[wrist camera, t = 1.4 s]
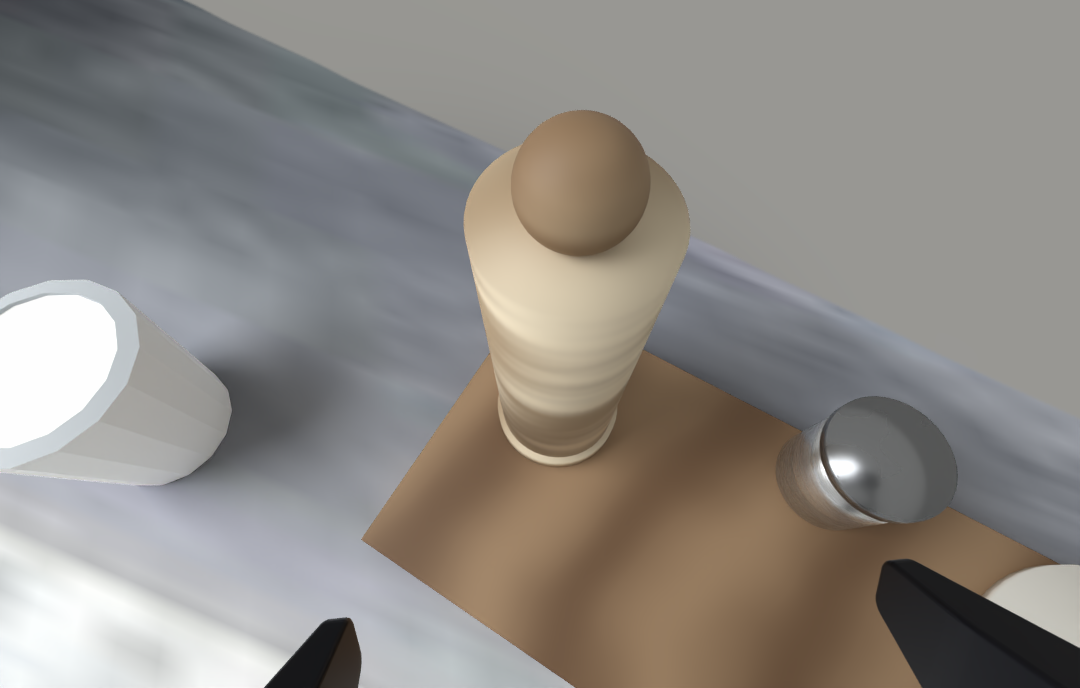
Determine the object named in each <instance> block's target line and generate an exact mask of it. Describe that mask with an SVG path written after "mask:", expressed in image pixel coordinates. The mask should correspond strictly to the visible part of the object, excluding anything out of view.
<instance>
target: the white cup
mask: <svg viewBox="0 0 1080 688" xmlns="http://www.w3.org/2000/svg"><path fill="white" fill-rule="evenodd" d="M231 413H232V408H231V403H230V398H229V392H228V389H227V388H226V387H225V386H224V385H223V383H222V382H221V381H220V380H219V378H218V377H217V376H216V375H215V374H214V373H213V372H212V371H210V370H209V369H208V368H207V367H206V366H205V365H203V364H202V363H201V362H200V361H199V360H197V359H196V358H195V357H194V356H193V355H192V354H190V353H189V352H188V351H187V350H186V349H185V348H183V347H182V346H181V345H180V344H179V343H177V342H176V341H175V340H174V339H173V338H172V337H170V336H169V335H168V334H167V333H166V332H164V331H163V330H162V329H161V328H160V327H159V326H157V325H156V324H155V323H154V322H153V321H151V320H150V319H149V318H148V317H147V316H146V315H144V314H143V313H142V312H141V311H140V310H139V309H137V308H136V307H135V306H134V305H133V304H131V303H130V302H129V301H128V300H127V299H126V298H124V297H123V296H122V295H121V294H120V293H118V292H117V291H115V290H112V289H110V288H107V287H105V286H102V285H99V284H97V283H94V282H92V281H89V280H49V281H46V282H43V283H40V284H37V285H34V286H30V287H27V288H24V289H21V290H18V291H15V292H11V293H9V294H7V295H6V296H4V297H2V298H1V299H0V473H8V474H19V475H29V476H40V477H51V478H61V479H72V480H82V481H93V482H103V483H114V484H124V485H135V486H150V485H165V484H167V483H170V482H172V481H175V480H177V479H180V478H183V477H185V476H188V475H190V474H191V473H192V472H193V471H194V470H196V469H197V468H198V467H199V466H201V465H202V464H203V463H204V462H206V461H207V460H208V459H209V458H211V457H212V455H213V454H214V452H215V451H216V449H217V448H218V446H219V444H220V443H221V441H222V440H223V438H224V437H225V435H226V433H227V429H228V425H229V421H230V417H231Z"/></svg>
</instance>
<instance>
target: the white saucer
mask: <svg viewBox="0 0 1080 688" xmlns="http://www.w3.org/2000/svg"><path fill="white" fill-rule="evenodd" d="M982 596H983V597H984V598H986V599H988V600H990V601H992V602H994V603H996V604H998V605H1000V606H1001V607H1003V608H1005V609H1007V610H1009V611H1011V612H1013V613H1015V614H1017V615H1018V616H1020V617H1022V618H1024V619H1026V620H1028V621H1030V622H1032V623H1034V624H1036V625H1037V626H1039V627H1041V628H1043V629H1045V630H1047V631H1049V632H1051V633H1053V634H1054V635H1056V636H1058V637H1060V638H1062V639H1064V640H1066V641H1068V642H1070V643H1071V644H1073V645H1075V646H1077V647H1079V648H1080V565H1040V566H1034V567H1028V568H1024V569H1021V570H1018V571H1016V572H1013V573H1010V574H1009V575H1007V576H1005V577H1003V578H1002V579H1000V580H998V581H997V582H996V583H995V584H993V585H992V586H991V587H990V588H989V589H988V590H986V592H985V593H984V594H983V595H982Z"/></svg>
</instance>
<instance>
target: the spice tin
mask: <svg viewBox="0 0 1080 688" xmlns="http://www.w3.org/2000/svg"><path fill="white" fill-rule="evenodd" d="M957 477H958V475H957V466H956V462H955V458H954V455H953V452H952V450H951V448H950V446H949V444H948V442H947V440H946V439H945V437H944V436H943V434H942V433H941V432H940V430H939V429H938V428H937V427H936V426H935V425H934V424H933V423H932V422H931V421H930V420H929V419H928V418H927V417H926V416H925V415H923V414H922V413H920V412H919V411H918V410H916V409H914V408H913V407H911V406H909V405H907V404H905V403H903V402H900V401H897V400H894V399H890V398H886V397H877V396H874V397H863V398H859V399H856V400H853V401H851V402H849V403H847V404H845V405H843V406H842V407H840V408H839V409H837V410H836V411H834V412H833V413H832V414H831V415H830V416H829V417H828V418H826V419H824V420H823V421H821V422H819V423H817V424H815V425H814V426H812V427H810V428H808V429H806V430H805V431H803V432H801V433H799V434H797V435H795V436H794V437H792V438H791V439H789V440H788V441H787V442H786V443H785V444H784V445H783V447H782V448H781V450H780V452H779V454H778V457H777V461H776V479H777V484H778V487H779V489H780V492H781V494H782V496H783V498H784V499H785V501H786V502H787V504H788V505H789V506H790V508H791V509H792V510H793V511H794V512H795V513H796V514H797V515H799V516H800V517H801V518H802V519H804V520H805V521H807V522H808V523H810V524H812V525H814V526H817V527H820V528H823V529H827V530H846V529H853V528H859V527H866V526H872V525H879V524H885V523H893V524H907V523H914V522H920V521H925V520H928V519H931V518H933V517H935V516H937V515H939V514H940V513H941V512H942V511H944V510H945V509H946V507H947V506H948V505H949V504H950V502H951V500H952V499H953V497H954V494H955V491H956V487H957Z"/></svg>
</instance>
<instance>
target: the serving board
mask: <svg viewBox="0 0 1080 688" xmlns="http://www.w3.org/2000/svg"><path fill="white" fill-rule="evenodd" d="M498 396H499V391H498V386H497V382H496V377H495V373H494V368H493V363H492V359H491V354H490V353H489V355H488V356H487V358H486V359H485V360H484V362H483V363H482V365H481V366H480V368H479V369H478V371H477V372H476V374H475V375H474V376H473V378H472V379H471V381H470V382H469V384H468V385H467V387H466V388H465V389H464V391H463V392H462V394H461V395H460V397H459V398H458V400H457V401H456V403H455V404H454V405H453V407H452V408H451V410H450V411H449V413H448V414H447V416H446V417H445V418H444V420H443V421H442V423H441V424H440V426H439V427H438V429H437V430H436V432H435V433H434V434H433V436H432V437H431V439H430V440H429V442H428V443H427V445H426V446H425V448H424V449H423V450H422V452H421V453H420V455H419V456H418V458H417V459H416V461H415V462H414V463H413V465H412V466H411V468H410V469H409V471H408V472H407V474H406V475H405V477H404V478H403V479H402V481H401V482H400V484H399V485H398V487H397V488H396V490H395V491H394V492H393V494H392V495H391V497H390V498H389V500H388V501H387V503H386V504H385V506H384V507H383V508H382V510H381V511H380V513H379V514H378V516H377V517H376V519H375V520H374V522H373V523H372V524H371V526H370V527H369V529H368V530H367V532H366V533H365V535H364V536H363V537H362V539H361V540H362V541H364V542H365V543H367V544H368V545H370V546H371V547H373V548H374V549H376V550H377V551H378V552H380V553H381V554H383V555H384V556H386V557H387V558H389V559H390V560H391V561H393V562H394V563H396V564H397V565H399V566H400V567H402V568H403V569H404V570H406V571H407V572H409V573H410V574H412V575H413V576H415V577H416V578H418V579H419V580H420V581H422V582H423V583H425V584H426V585H428V586H429V587H431V588H432V589H433V590H435V591H436V592H438V593H439V594H441V595H442V596H444V597H445V598H446V599H448V600H449V601H451V602H452V603H454V604H455V605H457V606H458V607H460V608H461V609H462V610H464V611H465V612H467V613H468V614H470V615H471V616H473V617H474V618H475V619H477V620H478V621H480V622H481V623H483V624H484V625H486V626H487V627H488V628H490V629H491V630H493V631H494V632H496V633H497V634H499V635H500V636H501V637H503V638H504V639H506V640H507V641H509V642H510V643H512V644H513V645H515V646H516V647H517V648H519V649H520V650H522V651H523V652H525V653H526V654H528V655H529V656H530V657H532V658H533V659H535V660H536V661H538V662H539V663H541V664H542V665H543V666H545V667H546V668H548V669H549V670H551V671H552V672H554V673H555V674H557V675H558V676H559V677H561V678H562V679H564V680H565V681H567V682H568V683H570V684H571V685H572V686H574V687H575V688H922V687H921V685H920V684H919V682H918V680H917V678H916V676H915V675H914V673H913V671H912V669H911V668H910V666H909V664H908V662H907V661H906V659H905V657H904V655H903V653H902V652H901V650H900V648H899V646H898V645H897V643H896V641H895V639H894V638H893V636H892V634H891V632H890V630H889V629H888V627H887V625H886V623H885V622H884V620H883V618H882V616H881V615H880V613H879V611H878V608H877V605H876V599H875V596H876V590H877V586H878V581H879V577H880V572H881V567H882V565H883V564H884V563H885V561H888V560H897V559H911V560H914V561H916V562H918V563H920V564H922V565H924V566H926V567H928V568H930V569H931V570H933V571H935V572H937V573H939V574H941V575H943V576H945V577H947V578H949V579H950V580H952V581H954V582H956V583H958V584H960V585H962V586H964V587H966V588H967V589H969V590H971V591H973V592H975V593H977V594H979V595H981V596H982V595H983V594H984V593H985V592H986V590H988V589H989V588H990V587H991V586H992V585H993V584H995V583H996V582H997V581H998V580H1000V579H1002V578H1003V577H1005V576H1007V575H1009V574H1010V573H1013V572H1016V571H1018V570H1021V569H1024V568H1028V567H1034V566H1040V565H1061V564H1059V563H1057V562H1055V561H1053V560H1051V559H1049V558H1047V557H1045V556H1043V555H1041V554H1039V553H1037V552H1035V551H1033V550H1031V549H1029V548H1028V547H1026V546H1024V545H1022V544H1020V543H1018V542H1016V541H1014V540H1012V539H1010V538H1008V537H1006V536H1004V535H1002V534H1000V533H998V532H996V531H995V530H993V529H991V528H989V527H987V526H985V525H983V524H981V523H979V522H977V521H975V520H973V519H971V518H969V517H967V516H965V515H963V514H961V513H960V512H958V511H956V510H954V509H952V508H950V507H948V506H947V507H946V509H945V510H944V511H942V512H941V513H940V514H939V515H937V516H935V517H933V518H931V519H928V520H925V521H920V522H914V523H907V524H893V523H885V524H879V525H872V526H866V527H859V528H853V529H846V530H827V529H823V528H820V527H817V526H814V525H812V524H810V523H808V522H807V521H805V520H804V519H802V518H801V517H800V516H799V515H797V514H796V513H795V512H794V511H793V510H792V509H791V508H790V506H789V505H788V504H787V502H786V501H785V499H784V498H783V496H782V494H781V492H780V489H779V487H778V484H777V479H776V461H777V457H778V454H779V452H780V450H781V448H782V447H783V445H784V444H785V443H786V442H787V441H788V440H789V439H791V438H792V437H794V436H795V435H797V434H799V433H801V432H802V431H800V430H798V429H796V428H794V427H792V426H790V425H788V424H787V423H785V422H783V421H781V420H779V419H777V418H775V417H773V416H771V415H769V414H767V413H765V412H763V411H761V410H759V409H757V408H755V407H754V406H752V405H750V404H748V403H746V402H744V401H742V400H740V399H738V398H736V397H734V396H732V395H730V394H728V393H726V392H724V391H722V390H720V389H719V388H717V387H715V386H713V385H711V384H709V383H707V382H705V381H703V380H701V379H699V378H697V377H695V376H693V375H691V374H689V373H687V372H685V371H684V370H682V369H680V368H678V367H676V366H674V365H672V364H670V363H668V362H666V361H664V360H662V359H660V358H658V357H656V356H654V355H652V354H650V353H649V352H647V351H645V350H642V352H641V355H640V357H639V359H638V361H637V364H636V366H635V368H634V370H633V372H632V375H631V377H630V379H629V381H628V383H627V386H626V388H625V390H624V392H623V395H622V397H621V399H620V401H619V403H618V406H617V416H616V420H615V423H614V426H613V429H612V431H611V433H610V435H609V437H608V439H607V441H606V442H605V443H604V445H603V446H602V447H601V449H600V450H599V451H598V452H597V453H595V454H594V455H593V456H592V457H590V458H589V459H587V460H585V461H583V462H581V463H579V464H576V465H573V466H568V467H547V466H543V465H539V464H536V463H534V462H532V461H530V460H528V459H526V458H525V457H523V456H522V455H521V454H519V453H518V452H517V451H516V450H515V449H514V448H513V447H512V445H511V444H510V443H509V441H508V440H507V438H506V436H505V434H504V432H503V429H502V426H501V422H500V418H499V413H498Z"/></svg>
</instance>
